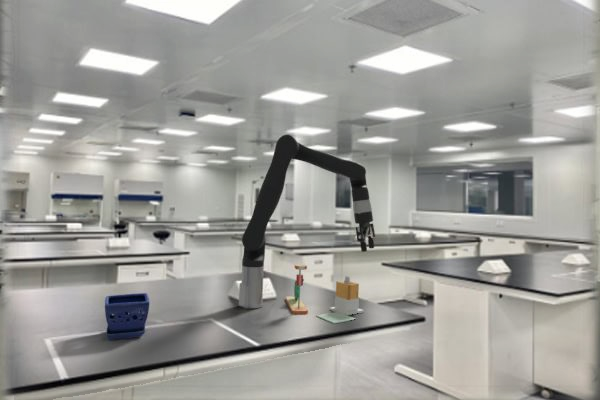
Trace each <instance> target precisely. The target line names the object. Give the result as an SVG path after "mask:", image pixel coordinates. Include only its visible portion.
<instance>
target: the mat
mask: <svg viewBox="0 0 600 400" xmlns="http://www.w3.org/2000/svg"><path fill="white" fill-rule="evenodd" d="M316 317H318V318H319V319H321V320H324V321H327V322H329V323H331V324H333V325H335V324H340V323H345V322H350V320H352V321H355V320H354V319H356V320H357V318H355V317H353V316H351V315H345V314H342V313H339V312H334V311H333V312H328V313H323V314H322V313H321V314H317V315H316Z"/></svg>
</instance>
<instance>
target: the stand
mask: <svg viewBox="0 0 600 400" xmlns="http://www.w3.org/2000/svg"><path fill="white" fill-rule="evenodd" d="M344 281H345V283H346V284H350V282H351V277H350V276H346V275H345V276H344ZM359 298H360V297H358V298H357V299H350V300H348V299H345V298H342V297H338V296H336V295H335V296H334V306H331V307H329V310H330V311H331V312H333V313H334V312H339V313H342V314H345V315H347V316H351V315H352V314H353V315H358V314H363V313H364V311H365V310H364V309H362V308H359V303H360V302H359V301H360V299H359ZM357 313H358V314H357Z"/></svg>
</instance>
